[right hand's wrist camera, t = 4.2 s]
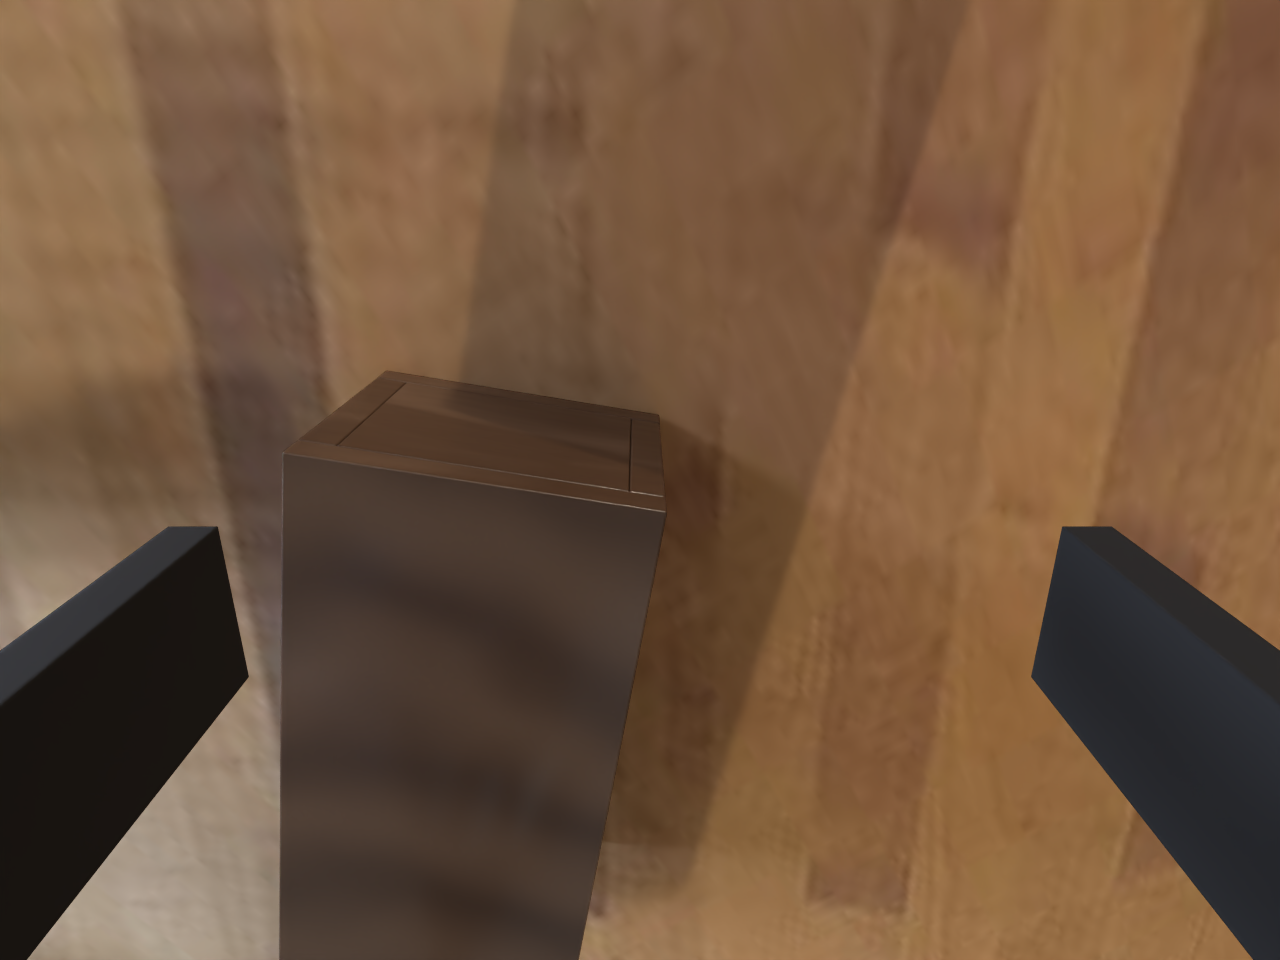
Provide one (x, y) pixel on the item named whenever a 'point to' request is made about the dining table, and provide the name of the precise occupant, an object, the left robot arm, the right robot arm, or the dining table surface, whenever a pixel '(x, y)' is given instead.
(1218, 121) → the dining table surface
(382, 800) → the cabinet
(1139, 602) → the right robot arm
